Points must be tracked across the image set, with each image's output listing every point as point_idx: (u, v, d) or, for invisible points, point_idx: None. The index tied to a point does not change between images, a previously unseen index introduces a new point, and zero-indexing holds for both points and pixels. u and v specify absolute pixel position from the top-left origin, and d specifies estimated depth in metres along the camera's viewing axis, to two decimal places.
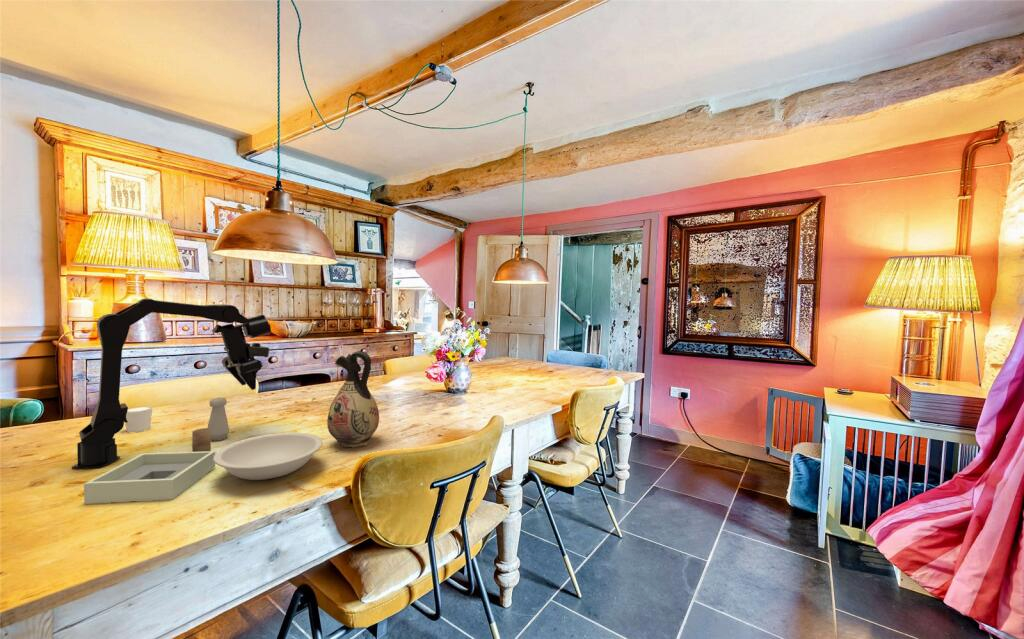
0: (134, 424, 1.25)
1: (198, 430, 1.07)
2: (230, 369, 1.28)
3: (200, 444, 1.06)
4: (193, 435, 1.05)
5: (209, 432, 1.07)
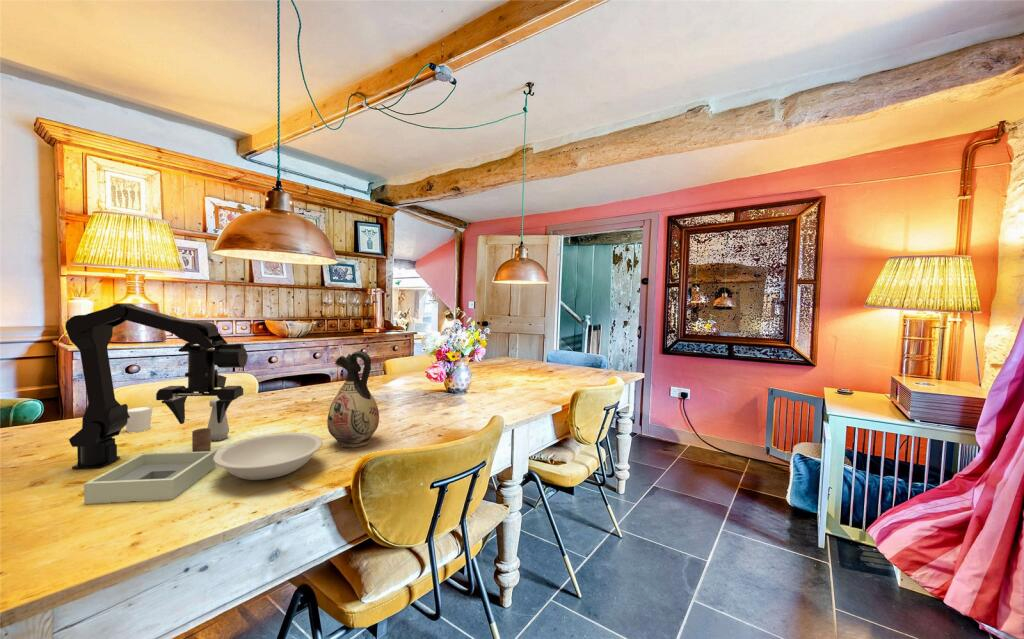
0: (134, 424, 1.25)
1: (198, 430, 1.07)
2: (174, 402, 1.04)
3: (200, 444, 1.06)
4: (193, 435, 1.05)
5: (209, 432, 1.07)
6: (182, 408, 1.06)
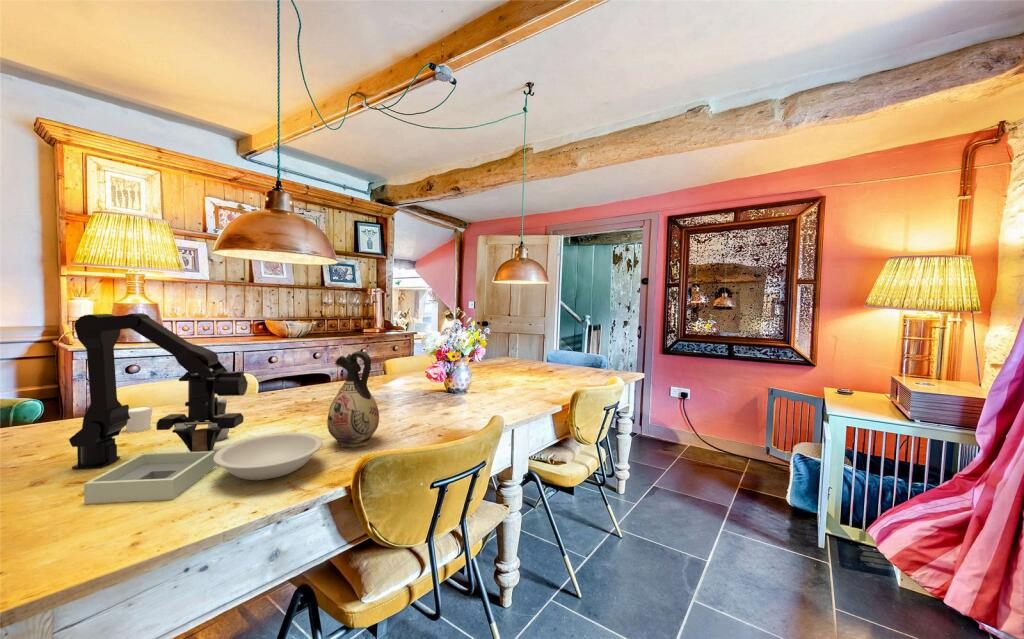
0: (134, 424, 1.25)
1: (198, 430, 1.07)
2: (185, 431, 1.04)
3: (200, 444, 1.06)
4: (193, 435, 1.05)
5: None
6: None
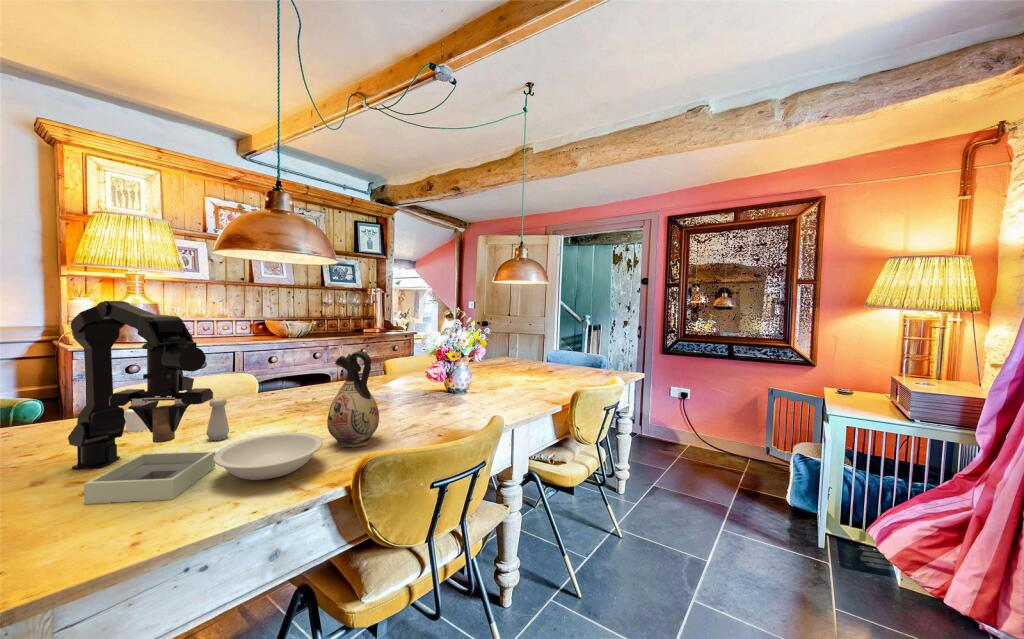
0: (134, 424, 1.25)
1: (159, 407, 0.93)
2: (143, 408, 0.91)
3: (162, 423, 0.92)
4: (153, 412, 0.92)
5: None
6: None
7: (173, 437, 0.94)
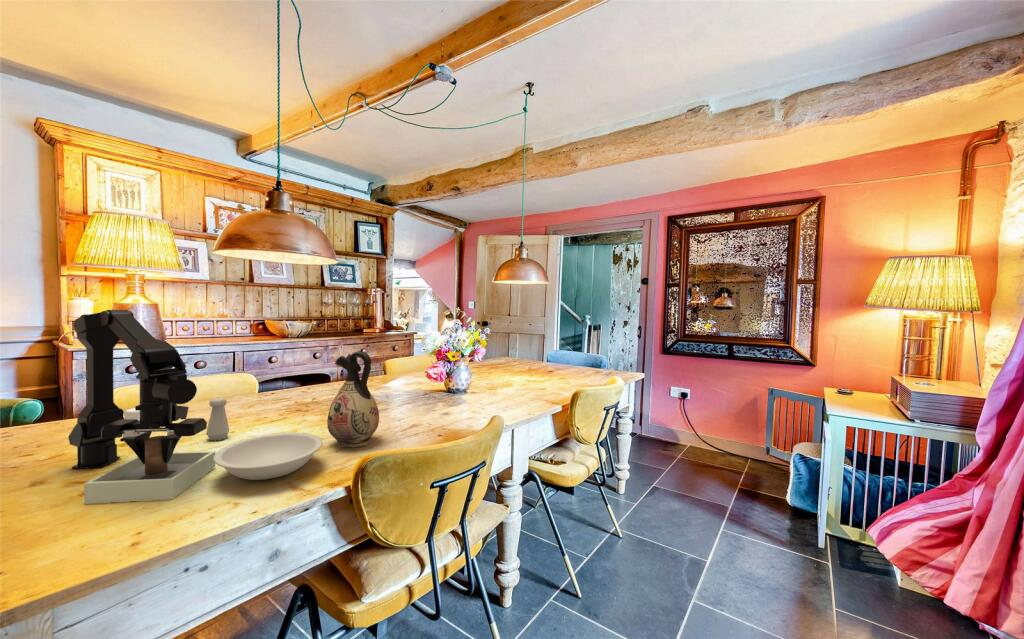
0: None
1: (152, 438, 0.92)
2: (136, 440, 0.89)
3: (154, 455, 0.90)
4: (145, 444, 0.90)
5: None
6: None
7: (166, 468, 0.93)
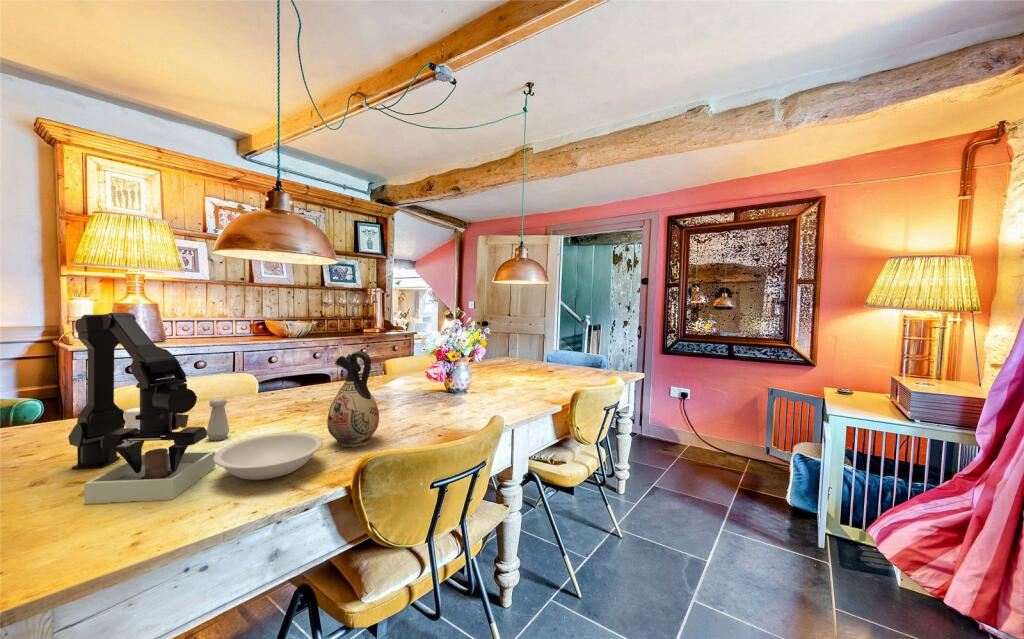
0: (134, 424, 1.25)
1: (152, 451, 0.92)
2: (128, 449, 0.89)
3: (154, 468, 0.91)
4: (146, 457, 0.90)
5: (165, 453, 0.92)
6: (138, 454, 0.92)
7: None
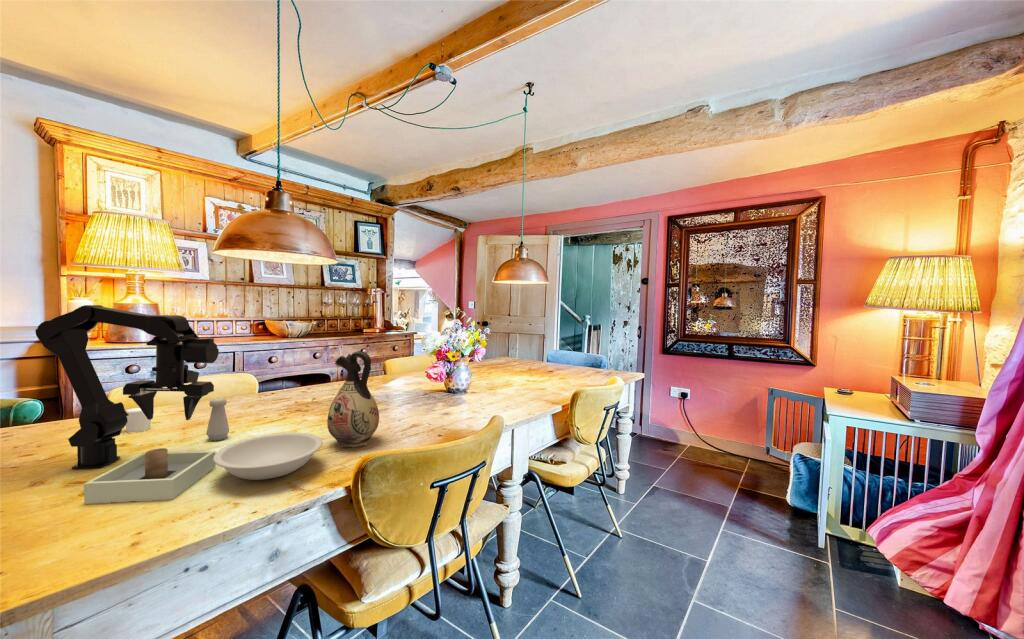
0: (134, 424, 1.25)
1: (152, 451, 0.92)
2: (141, 397, 1.01)
3: (154, 468, 0.91)
4: (146, 457, 0.90)
5: (165, 453, 0.92)
6: (150, 403, 1.04)
7: None
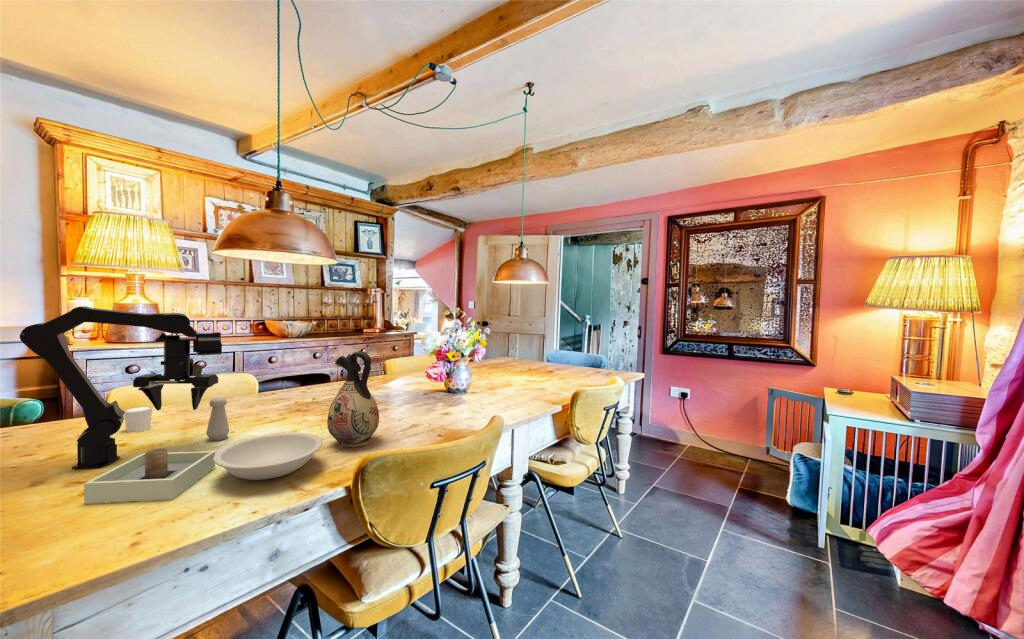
0: (134, 424, 1.25)
1: (152, 451, 0.92)
2: (151, 389, 1.08)
3: (154, 468, 0.91)
4: (146, 457, 0.90)
5: (165, 453, 0.92)
6: (159, 395, 1.11)
7: None
